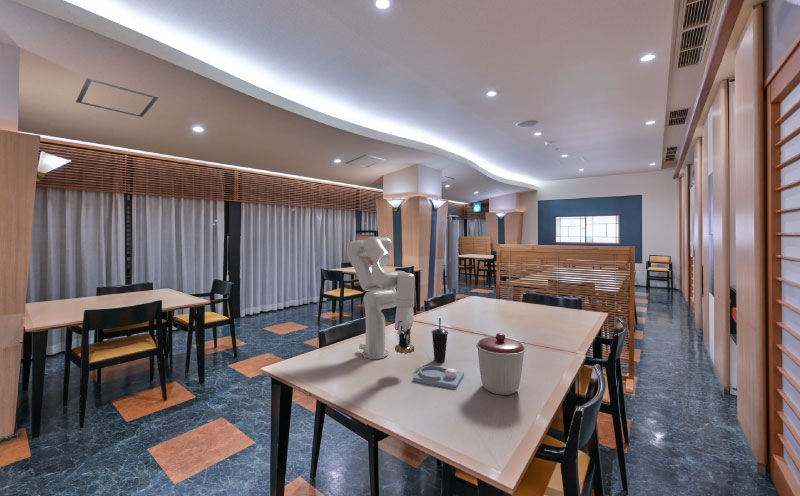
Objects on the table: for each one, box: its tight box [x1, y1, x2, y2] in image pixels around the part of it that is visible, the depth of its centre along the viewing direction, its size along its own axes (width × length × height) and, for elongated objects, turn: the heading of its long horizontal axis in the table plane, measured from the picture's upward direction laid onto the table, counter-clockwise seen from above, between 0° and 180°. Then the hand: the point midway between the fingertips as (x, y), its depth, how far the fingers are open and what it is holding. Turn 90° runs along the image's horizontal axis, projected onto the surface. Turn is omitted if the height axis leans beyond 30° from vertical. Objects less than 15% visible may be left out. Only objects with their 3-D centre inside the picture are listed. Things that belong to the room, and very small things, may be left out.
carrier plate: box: [412, 365, 465, 390], centre depth 132 cm, size 18×13×4 cm
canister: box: [475, 332, 527, 396], centre depth 123 cm, size 18×18×21 cm
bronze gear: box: [394, 334, 415, 355], centre depth 138 cm, size 8×8×6 cm
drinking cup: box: [431, 317, 449, 364], centre depth 151 cm, size 8×8×20 cm
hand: (404, 345), depth 138 cm, fingers closed on bronze gear, 3 cm apart
